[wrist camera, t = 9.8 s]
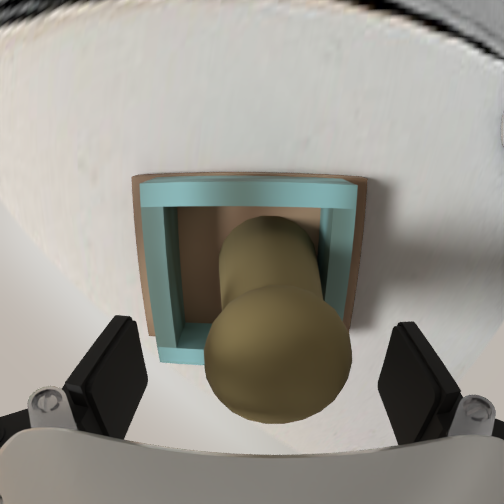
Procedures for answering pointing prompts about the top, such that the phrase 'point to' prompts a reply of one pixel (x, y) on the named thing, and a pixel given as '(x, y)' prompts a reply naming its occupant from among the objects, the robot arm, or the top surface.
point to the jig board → (215, 232)
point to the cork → (274, 327)
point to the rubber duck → (502, 129)
